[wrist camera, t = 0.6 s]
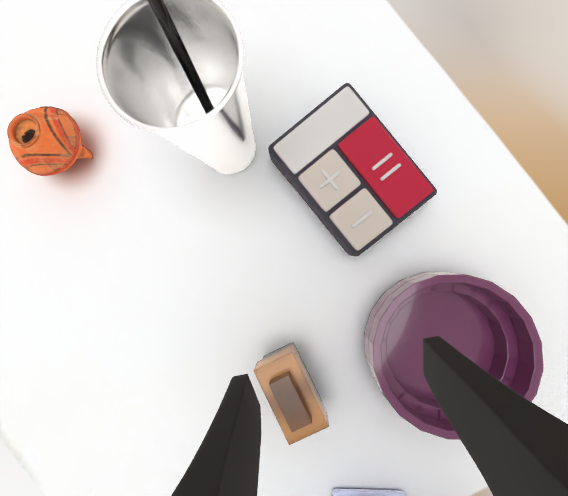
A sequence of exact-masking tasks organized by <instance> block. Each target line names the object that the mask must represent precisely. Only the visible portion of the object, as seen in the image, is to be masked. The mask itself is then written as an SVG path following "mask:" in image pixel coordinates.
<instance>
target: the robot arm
mask: <svg viewBox="0 0 568 496" xmlns="http://www.w3.org/2000/svg"><path fill="white" fill-rule="evenodd" d="M423 372H424V377H425V379H426V381H427V383H428V385H429V387H430V389H431V391H432V393H433V395H434V397H435V399H436V401H437V403H438V404H439V406H440V408H441V409H442V411H443V412H444V414H445V416H446V417H447V419H448V420H449V422H450V424H451V425H452V427H453V428H454V430H455V432H456V433H457V435H458V436H459V438H460V440H461V441H462V443H463V444H464V446H465V447H466V449H467V451H468V452H469V454H470V455H471V457H472V459H473V460H474V462H475V463H476V465H477V467H478V469H479V470H480V472H481V474H482V475H483V477H484V479H485V481H486V483H487V485H488V486H489V488H490V490H491V492H492V494H493V496H568V424H566V423H565V422H563V421H561V420H560V419H558V418H556V417H555V416H553V415H551V414H550V413H548V412H546V411H545V410H543V409H541V408H540V407H538V406H537V405H535V404H533V403H532V402H530V401H529V400H527V399H526V398H524V397H523V396H521V395H520V394H518V393H516V392H515V391H513V390H512V389H510V388H509V387H508V386H506V385H505V384H503V383H502V382H500V381H499V380H497V379H496V378H495V377H493V376H492V375H490V374H489V373H488V372H486V371H485V370H483V369H482V368H481V367H479V366H478V365H477V364H475V363H474V362H473V361H471V360H470V359H469V358H467V357H466V356H465V355H463V354H462V353H461V352H459V351H458V350H457V349H455V348H454V347H453V346H452V345H450V344H449V343H448V342H446V341H445V340H444V339H443V338H441V337H440V336H434V337H429V338H424V339H423ZM260 445H261V411H260V404H259V401H258V399H257V396H256V394H255V391H254V389H253V386H252V384H251V381H250V379H249V376H248V374H244V375H239V376H234V377H233V378H232V379H231V381H230V384H229V386H228V389H227V391H226V393H225V396H224V398H223V400H222V402H221V405H220V407H219V409H218V411H217V413H216V415H215V418H214V420H213V422H212V424H211V426H210V428H209V430H208V432H207V434H206V436H205V438H204V440H203V442H202V444H201V445H200V447H199V449H198V451H197V453H196V455H195V457H194V459H193V460H192V462H191V464H190V466H189V467H188V469H187V471H186V473H185V474H184V476H183V478H182V479H181V481H180V483H179V484H178V486H177V487H176V489H175V491H174V492H173V494H172V495H171V496H257V487H258V473H259V459H260ZM332 496H406V495H405V493H404V492H403V491H401V490H369V489H334V490H333V491H332Z"/></svg>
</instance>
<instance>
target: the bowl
mask: <svg viewBox="0 0 568 496" xmlns="http://www.w3.org/2000/svg"><path fill="white" fill-rule="evenodd" d="M364 336H365V356H366V359H367V362H368V364H369V367H370V370H371V373H372V375H373V378H374V379H375V381H376V383H377V384H378V386H379V388H380V390H381V391H382V393H383V395H384V396H385V397H386V399H387V400H388V401H389V403H390V404H391V405H392V406H393V408H394V409H395V410H396V412H397V413H398V414H399V415H400V416H401V417H403V418H404V419H405V420H407V421H408V422H410V423H411V424H412V425H414V426H415V427H417V428H418V429H420V430H422V431H424V432H427V433H430V434H433V435H436V436H439V437H443V438H446V439H460V438H459V436H458V435H457V433H456V432H455V430H454V428H453V427H452V425H451V424H450V422H449V420H448V419H447V417H446V416H445V414H444V412H443V411H442V409H441V408H440V406H439V404H438V403H437V401H436V399H435V397H434V395H433V393H432V391H431V389H430V387H429V385H428V383H427V381H426V379H425V377H424V372H423V339H424V338H429V337H434V336H440V337H441V338H443V339H444V340H445V341H446V342H448V343H449V344H450V345H452V346H453V347H454V348H455V349H457V350H458V351H459V352H461V353H462V354H463V355H465V356H466V357H467V358H469V359H470V360H471V361H473V362H474V363H475V364H477V365H478V366H479V367H481V368H482V369H483V370H485V371H486V372H488V373H489V374H490V375H492V376H493V377H495V378H496V379H497V380H499V381H500V382H502V383H503V384H505V385H506V386H508V387H509V388H510V389H512V390H513V391H515V392H516V393H518V394H520V395H521V396H523V397H524V398H526V399H527V400H529V401H530V402H532V400H533V399H534V397H535V396H536V394H537V391H538V387H539V384H540V380H541V376H542V373H543V355H542V343H541V339H540V337H539V334H538V332H537V330H536V327H535V325H534V322H533V320H532V318H531V316H530V315H529V314H528V312H527V311H526V310H525V309H524V308H523V306H522V305H521V304H520V303H519V302H518V300H517V299H516V298H515V297H514V296H513V295H511V294H510V293H508V292H507V291H505V290H503V289H502V288H500V287H499V286H497V285H496V284H494V283H493V282H490V281H487V280H484V279H480V278H477V277H473V276H470V275H466V274H458V273H448V272H433V273H420V274H417V275H414V276H412V277H409V278H406V279H403V280H401V281H399V282H398V283H396V284H395V285H394V286H393V287H391V288H390V289H389V290H387V291H386V292H385V293H383V295H382V296H381V297H380V299H379V300H378V302H377V303H376V305H375V306H374V308H373V309H372V311H371V312H370V315H369V319H368V322H367V326H366V329H365V334H364Z"/></svg>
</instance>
